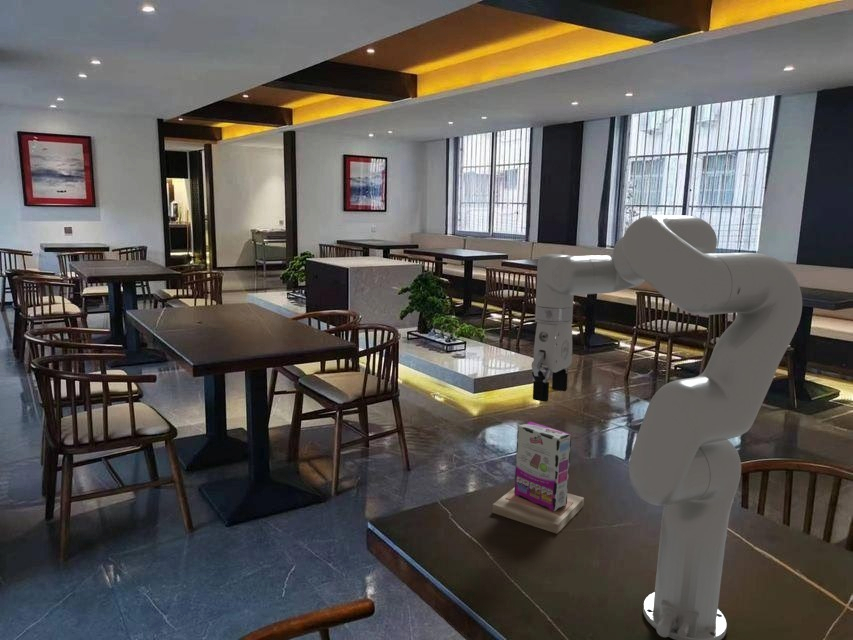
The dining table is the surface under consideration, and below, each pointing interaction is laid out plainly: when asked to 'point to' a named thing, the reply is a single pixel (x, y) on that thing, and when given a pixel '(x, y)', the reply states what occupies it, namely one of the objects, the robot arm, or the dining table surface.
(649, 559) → the dining table surface
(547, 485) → the candy bar box
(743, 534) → the dining table surface
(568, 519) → the base board
